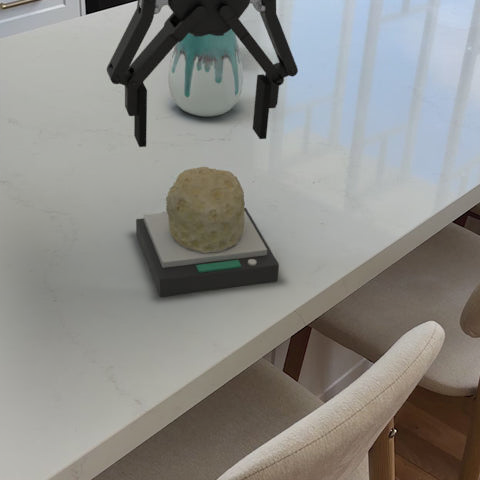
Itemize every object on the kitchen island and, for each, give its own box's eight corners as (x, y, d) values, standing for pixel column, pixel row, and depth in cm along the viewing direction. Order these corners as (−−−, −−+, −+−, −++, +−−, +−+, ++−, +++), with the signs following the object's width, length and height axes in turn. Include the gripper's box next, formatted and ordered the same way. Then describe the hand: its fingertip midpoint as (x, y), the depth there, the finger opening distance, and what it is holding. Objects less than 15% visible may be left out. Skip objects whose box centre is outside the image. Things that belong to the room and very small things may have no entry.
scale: (159, 297, 99) (159, 273, 97) (136, 235, 109) (136, 213, 107) (277, 281, 104) (279, 258, 102) (244, 223, 113) (246, 201, 112)
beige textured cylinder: (244, 246, 110) (232, 166, 109) (258, 246, 100) (245, 158, 99) (169, 257, 108) (157, 176, 107) (176, 258, 98) (162, 168, 97)
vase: (227, 129, 135) (232, 13, 125) (156, 115, 137) (156, 0, 127) (250, 101, 144) (258, -9, 134) (184, 87, 147) (186, -22, 136)
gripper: (87, -50, 79) (93, 161, 91) (343, -49, 87) (317, 145, 99) (75, -73, 85) (81, 128, 97) (316, -70, 93) (295, 116, 105)
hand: (201, 137), depth 98 cm, fingers open, 13 cm apart
